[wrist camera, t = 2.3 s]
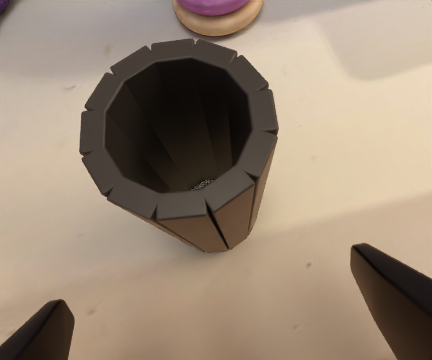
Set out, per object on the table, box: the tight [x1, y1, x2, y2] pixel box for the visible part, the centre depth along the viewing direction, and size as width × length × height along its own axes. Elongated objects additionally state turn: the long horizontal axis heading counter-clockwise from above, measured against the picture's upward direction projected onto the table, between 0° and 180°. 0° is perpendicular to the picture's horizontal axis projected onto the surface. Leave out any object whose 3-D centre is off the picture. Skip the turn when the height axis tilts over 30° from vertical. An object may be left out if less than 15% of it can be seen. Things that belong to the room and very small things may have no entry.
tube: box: [79, 39, 279, 253], centre depth 15 cm, size 6×6×13 cm
